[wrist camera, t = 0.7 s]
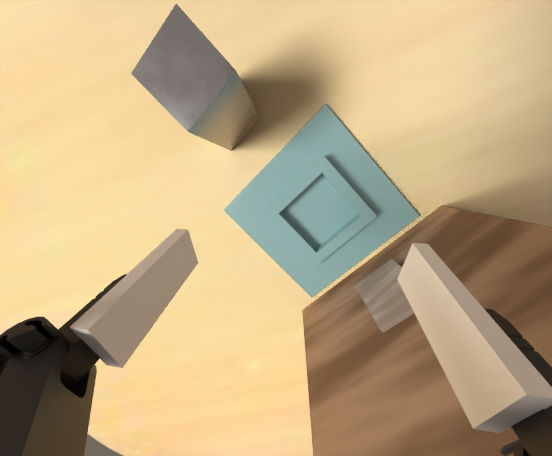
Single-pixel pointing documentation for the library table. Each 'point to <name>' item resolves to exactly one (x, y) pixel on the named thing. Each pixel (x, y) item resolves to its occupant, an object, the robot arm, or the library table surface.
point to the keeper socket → (320, 204)
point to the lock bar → (196, 83)
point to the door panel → (419, 339)
